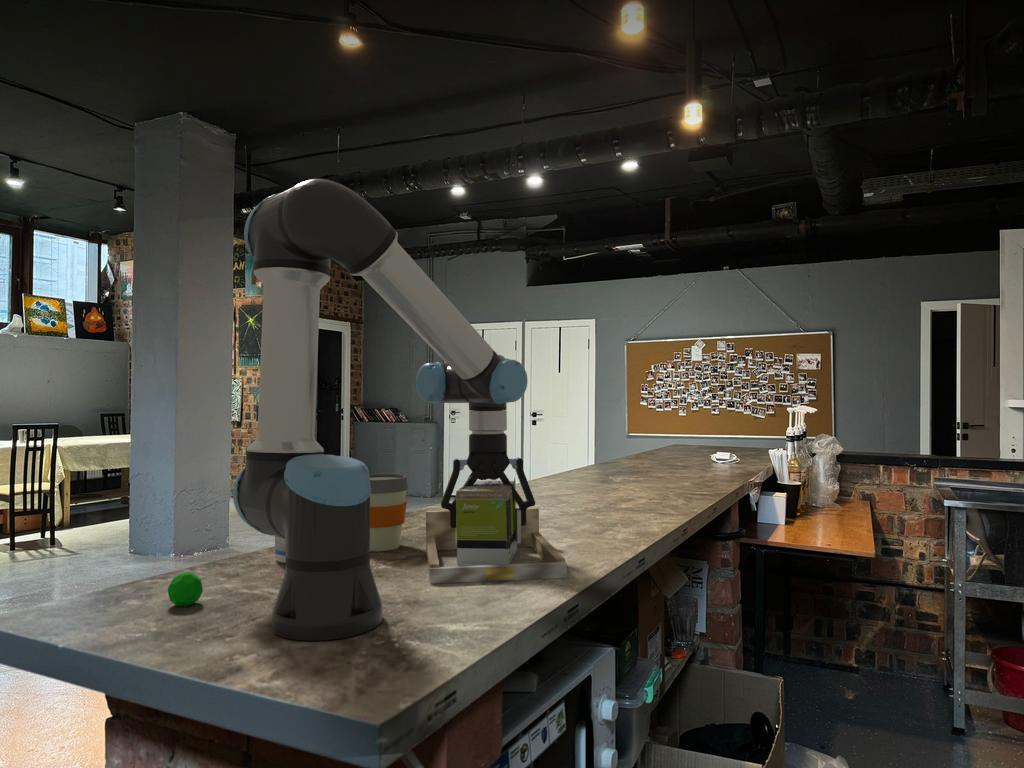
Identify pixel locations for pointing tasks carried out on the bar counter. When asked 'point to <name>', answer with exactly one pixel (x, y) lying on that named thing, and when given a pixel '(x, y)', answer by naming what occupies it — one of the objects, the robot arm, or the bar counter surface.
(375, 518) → the reusable coffee cup
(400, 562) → the bar counter surface
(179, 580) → the polyhedron
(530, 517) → the open wooden storage bin
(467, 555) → the tea box
